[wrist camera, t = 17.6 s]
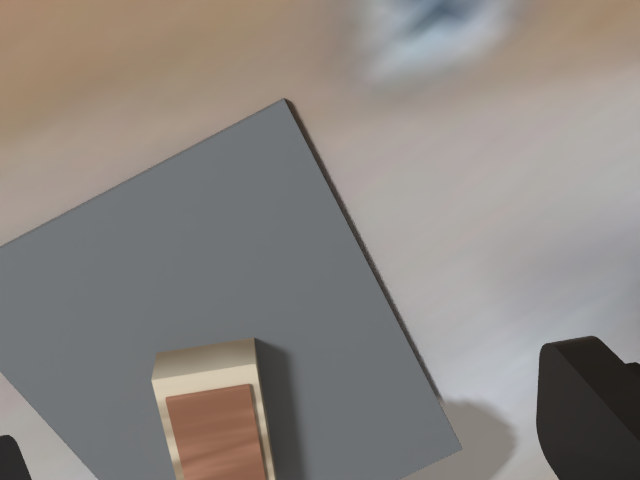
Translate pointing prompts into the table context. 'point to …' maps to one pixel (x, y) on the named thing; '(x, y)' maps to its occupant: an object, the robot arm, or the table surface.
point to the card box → (214, 412)
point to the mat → (217, 313)
